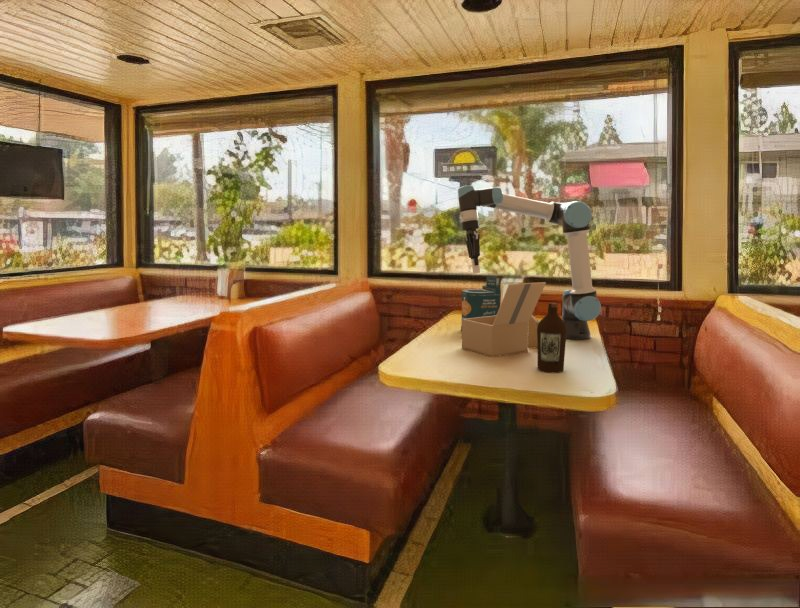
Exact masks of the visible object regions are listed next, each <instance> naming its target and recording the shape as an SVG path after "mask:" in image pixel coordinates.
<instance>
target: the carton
mask: <svg viewBox="0 0 800 608" xmlns="http://www.w3.org/2000/svg"><path fill="white" fill-rule="evenodd" d="M495 318H496V316H487V317H477V318H467V319H462V318H461V326H462V331H461V349H463V350H466V351H470V352H472V353H473V352H474V353H476V352H477V354H480V353H481V355H483V354H485V355H484V356H486V355H488V356H487V357H490V356H495V357H499V355H501V356H506V355H505V354H508V355H514V354H520V352H521V353H526V352H525V351H527V352H528V349H529V347H528V322H521V323H514V324H504V325H495V326H493V323H494V320H495ZM513 353H514V354H513Z"/></svg>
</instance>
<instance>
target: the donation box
mask: <svg viewBox="0 0 800 608" xmlns="http://www.w3.org/2000/svg"><path fill="white" fill-rule="evenodd" d="M501 280H502V279H501V278H500V277H497V276H491V275H486V284H484V285H481V286H482V287H481V288H480V289H479V288H476V289H475V288H474V289H473V288H472V289H464V290H463V289H462V290H461V291H460V292H461V295H460V296H461V320H462V319H467V318H477V317H487V316H496V315H497V313H498V310H499V308H500V298H501V287H502V285H501V283H502V281H501ZM460 331H461V332H462V325H461V326H460Z"/></svg>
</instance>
